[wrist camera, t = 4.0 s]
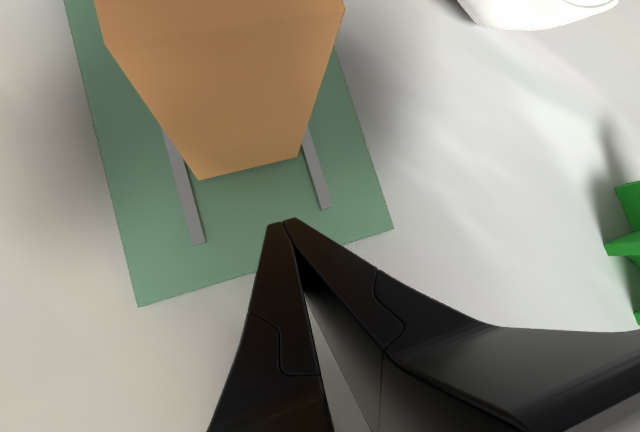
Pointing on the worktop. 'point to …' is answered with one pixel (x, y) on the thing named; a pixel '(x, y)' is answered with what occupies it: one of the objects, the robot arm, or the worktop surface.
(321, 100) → the board
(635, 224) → the pipe clamp
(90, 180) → the worktop surface
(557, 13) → the cell model
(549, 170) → the worktop surface
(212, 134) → the orange block
